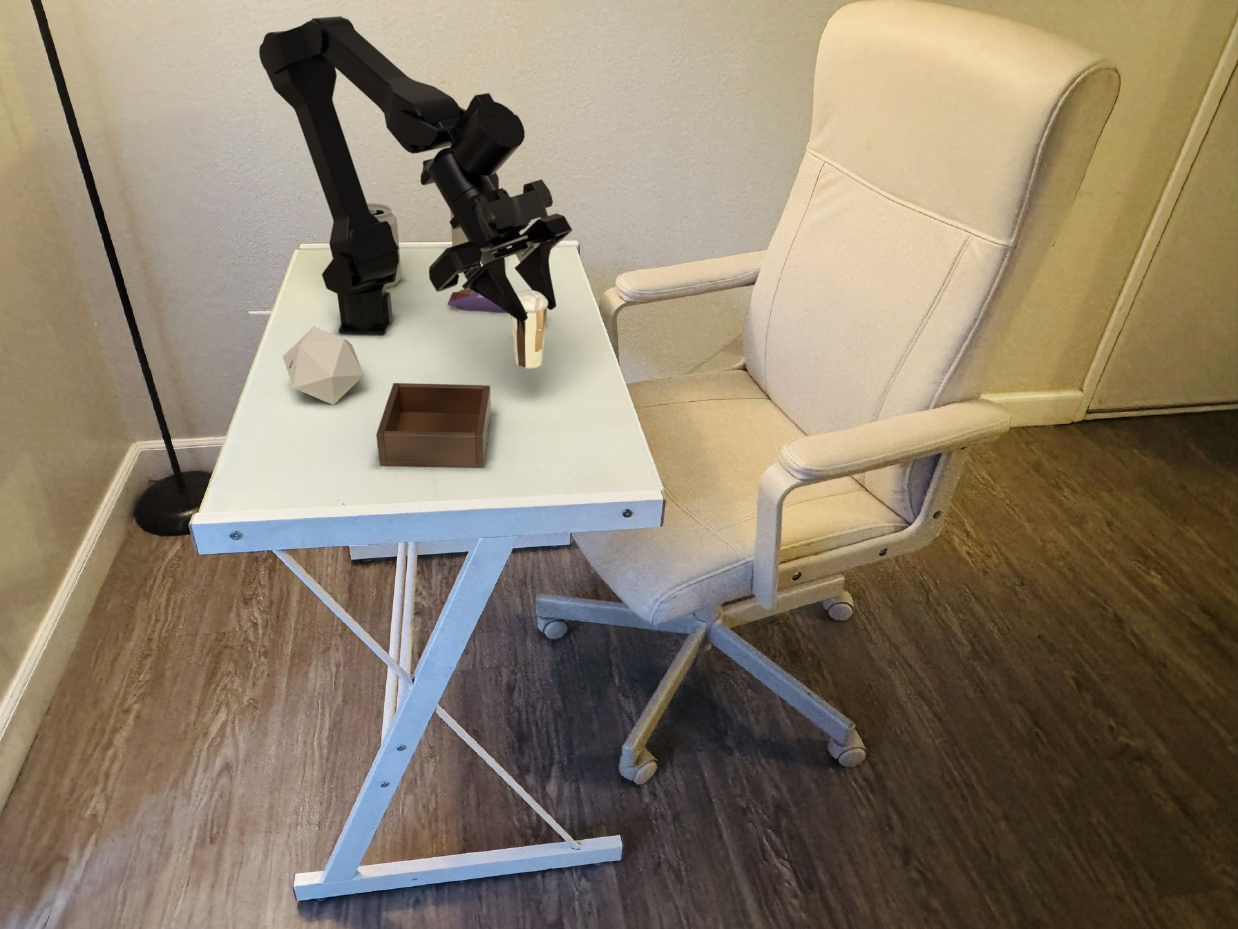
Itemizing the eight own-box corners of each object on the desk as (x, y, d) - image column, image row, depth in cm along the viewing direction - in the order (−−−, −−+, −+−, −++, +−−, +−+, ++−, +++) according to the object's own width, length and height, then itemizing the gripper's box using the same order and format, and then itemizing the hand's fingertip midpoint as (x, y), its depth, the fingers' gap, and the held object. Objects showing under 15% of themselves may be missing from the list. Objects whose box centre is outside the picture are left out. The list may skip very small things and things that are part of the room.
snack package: (526, 290, 135) (522, 303, 131) (526, 302, 136) (523, 315, 132) (452, 286, 135) (446, 299, 130) (452, 297, 136) (447, 311, 132)
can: (396, 292, 136) (389, 217, 129) (348, 290, 136) (339, 214, 129) (406, 274, 142) (400, 202, 135) (360, 271, 142) (352, 199, 135)
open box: (379, 465, 97) (376, 434, 95) (396, 412, 107) (393, 382, 104) (483, 467, 98) (482, 436, 96) (491, 414, 107) (490, 385, 105)
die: (307, 377, 114) (259, 339, 105) (365, 343, 113) (321, 301, 104) (325, 426, 110) (276, 391, 101) (385, 391, 109) (341, 352, 100)
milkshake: (521, 377, 103) (520, 300, 97) (504, 357, 107) (503, 281, 101) (555, 370, 105) (557, 294, 99) (538, 350, 109) (539, 276, 103)
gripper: (440, 174, 88) (518, 307, 89) (563, 144, 101) (630, 262, 101) (396, 228, 97) (467, 350, 97) (514, 195, 109) (577, 303, 110)
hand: (539, 314), depth 101 cm, fingers closed on milkshake, 4 cm apart
